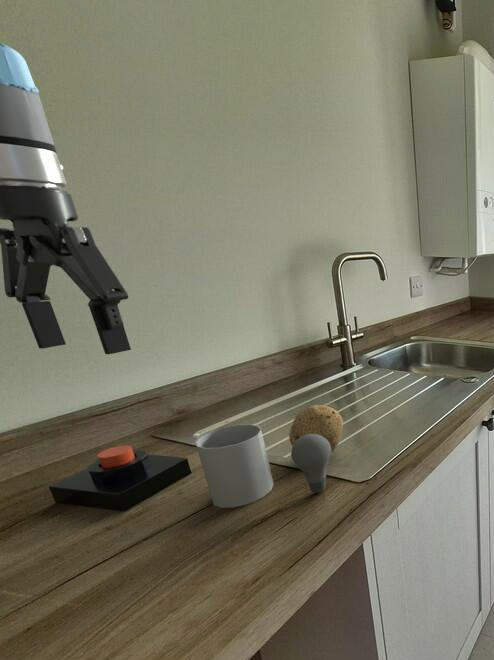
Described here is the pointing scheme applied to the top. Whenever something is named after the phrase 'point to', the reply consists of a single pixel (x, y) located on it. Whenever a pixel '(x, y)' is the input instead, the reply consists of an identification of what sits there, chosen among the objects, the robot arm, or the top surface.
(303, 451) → the light bulb
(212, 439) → the cup
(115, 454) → the button
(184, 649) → the top surface
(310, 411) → the natural sponge
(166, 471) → the black button base
